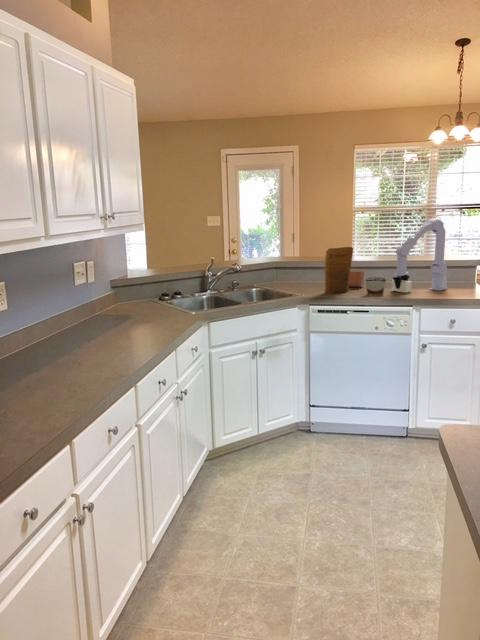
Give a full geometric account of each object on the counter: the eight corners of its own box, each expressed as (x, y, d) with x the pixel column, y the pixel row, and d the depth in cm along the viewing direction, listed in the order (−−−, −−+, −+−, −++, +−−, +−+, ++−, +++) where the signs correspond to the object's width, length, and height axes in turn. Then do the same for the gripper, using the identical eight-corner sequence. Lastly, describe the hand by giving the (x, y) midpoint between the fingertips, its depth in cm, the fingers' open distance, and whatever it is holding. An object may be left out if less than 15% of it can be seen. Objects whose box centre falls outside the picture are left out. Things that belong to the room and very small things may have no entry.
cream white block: (396, 289, 327) (397, 279, 326) (410, 291, 320) (411, 281, 319) (391, 290, 323) (392, 280, 322) (405, 292, 316) (406, 282, 315)
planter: (352, 288, 335) (353, 272, 333) (341, 286, 346) (341, 269, 344) (368, 287, 340) (368, 270, 338) (356, 284, 351) (357, 268, 349)
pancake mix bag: (354, 292, 322) (355, 247, 316) (325, 294, 318) (326, 248, 311) (349, 290, 328) (350, 246, 322) (321, 292, 324) (322, 247, 318)
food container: (383, 293, 318) (384, 276, 315) (385, 294, 312) (386, 278, 309) (363, 293, 319) (364, 277, 317) (364, 294, 313) (365, 278, 311)
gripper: (401, 267, 311) (400, 289, 314) (413, 265, 320) (412, 287, 323) (390, 266, 316) (389, 288, 319) (403, 264, 325) (402, 285, 328)
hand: (400, 287), depth 321 cm, fingers closed on cream white block, 6 cm apart
